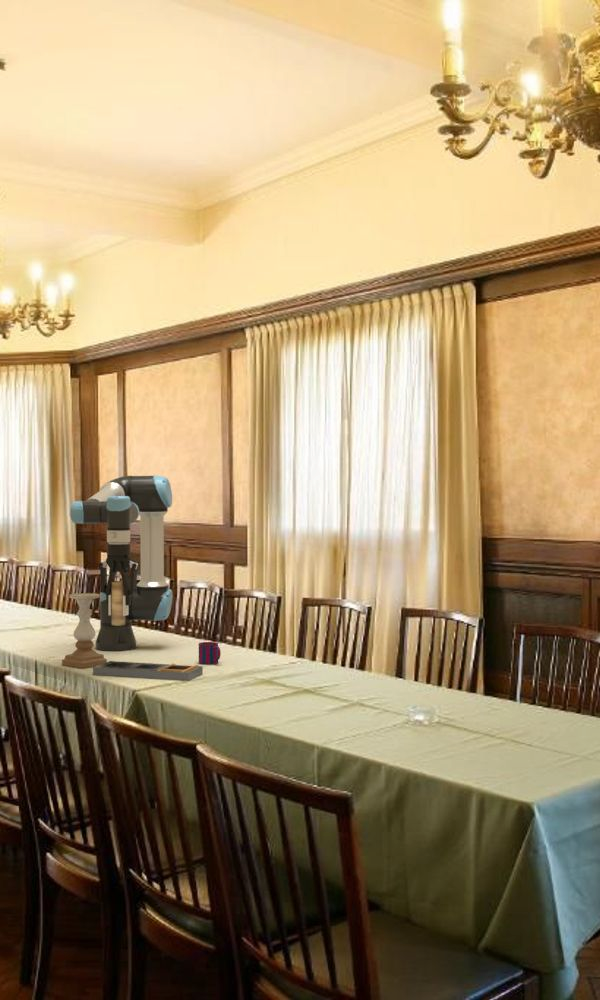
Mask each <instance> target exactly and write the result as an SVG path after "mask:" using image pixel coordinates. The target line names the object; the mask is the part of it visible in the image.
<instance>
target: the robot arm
mask: <svg viewBox="0 0 600 1000" xmlns="http://www.w3.org/2000/svg"><path fill="white" fill-rule="evenodd" d="M172 491H173V490H172V486H171V483H170V481H169V478H167V477H166V476H164V475H124V476H119V477H116V478H114V479H111V480H110V481H107V482H106V483H104V484H103V485H102V486H101V487H100V489H99V491H98V492H95V494H93V495H92V496H91V497H89V498H87V499H86V500H79V501H78V500H77V501H73V502H72V503H71V504H70V510H69V511H70V512H69V514H70V515H69V516H70V520H71V521H72V523H74V524H81V525H84V524H87V525H89V524H94V525H97V524H102V525H103V524H104V525H105V524H106V542H107V545H106V559H105V560H104V561H101V562H98V568H99V575H100V576H99V577H100V581H99V582H100V583H99V585H100V591H99V592H100V597H99V598H100V599H99V603H100V604H99V607H100V612H99V613H100V614H99V615H100V618H99V620H100V621H99V622H100V623H99V624H100V627H99V631H98V634H97V636H96V639H95V649H96V650H100V651H114V652H117V651H119V652H120V651H129V650H133V649H136V648H137V638H136V636H135V634H134V633H135V632H134V631H133V630H134V629H133V625H132V624H133V621H154V622H156V621H165V620H167V619H168V618H169V615H170V613H171V609H172V605H173V598H174V597H173V596H174V595H173V590H172V589H170V588H169V584H168V583H167V582H166V580H165V576H164V574H165V569H164V566H165V561H164V560H165V559H164V558H165V554H164V546H165V542H164V540H165V539H164V537H165V536H164V535H165V534H164V531H165V529H164V524H165V523H164V522H165V521H164V518H165V517H164V516H166V514H167V513H168V512H169V511H168V508H171V507H172V506H173V492H172ZM139 517H140V519H139V522H140V526H139V527H140V531H139V532H140V580H139V582H138V569H139V563H138V562H133V561H132V559H131V543H130V542H131V524H133V523H134V522H136V521H137V520H138V518H139ZM107 567H108V568H109V570H107V569H108V568H107ZM128 568H130V570H128ZM129 571H130V573H129ZM118 573H119V574H120V577H121V581H122V582H123V587H124V592H125V594H124V596H123V616H125V625H121V626H115V625H112V582H113V581H116V578H117V577H116V576H117V574H118ZM129 575H130V579H129Z"/></svg>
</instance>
